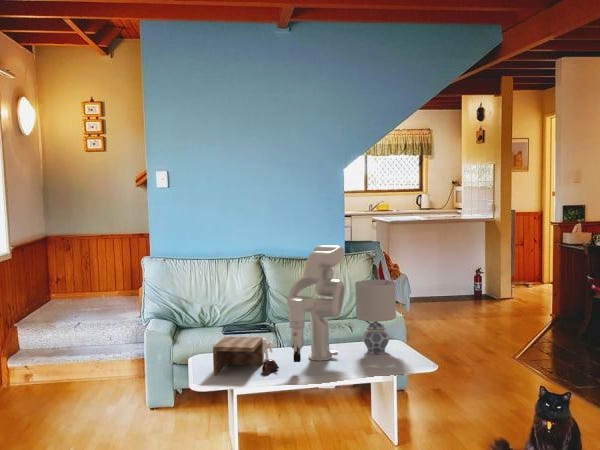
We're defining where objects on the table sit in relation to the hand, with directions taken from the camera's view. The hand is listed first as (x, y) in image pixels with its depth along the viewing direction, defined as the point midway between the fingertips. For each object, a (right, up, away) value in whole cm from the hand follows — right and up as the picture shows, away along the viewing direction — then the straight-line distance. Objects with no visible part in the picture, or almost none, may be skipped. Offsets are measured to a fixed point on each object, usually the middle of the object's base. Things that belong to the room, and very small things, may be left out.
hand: (297, 361), depth 283 cm
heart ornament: (-14, -6, +3) cm, 16 cm away
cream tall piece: (-17, -5, +24) cm, 30 cm away
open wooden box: (-29, -6, +7) cm, 30 cm away
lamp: (+43, -3, +33) cm, 54 cm away
